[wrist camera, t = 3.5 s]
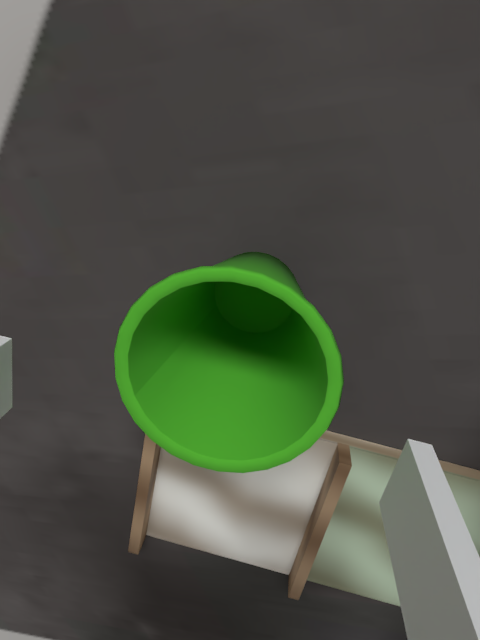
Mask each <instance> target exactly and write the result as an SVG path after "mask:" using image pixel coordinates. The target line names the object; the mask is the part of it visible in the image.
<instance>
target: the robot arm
mask: <svg viewBox="0 0 480 640" xmlns="http://www.w3.org/2000/svg"><path fill="white" fill-rule="evenodd" d="M11 408H12V338H8V337H4V336H0V418H1V417H2V416H3V415H4V414H5V413H7V412H8V411H9V410H10V409H11ZM379 506H380V510H381V515H382V520H383V525H384V529H385V534H386V539H387V544H388V549H389V553H390V558H391V563H392V568H393V572H394V577H395V582H396V587H397V591H398V596H399V601H400V606H401V610H402V615H403V620H404V625H405V629H406V634H407V639H408V640H480V557H479V555H478V552H477V550H476V548H475V545H474V543H473V541H472V538H471V536H470V533H469V531H468V529H467V526H466V524H465V522H464V519H463V517H462V515H461V512H460V510H459V508H458V505H457V503H456V501H455V498H454V496H453V493H452V491H451V489H450V486H449V484H448V482H447V479H446V477H445V475H444V472H443V470H442V468H441V465H440V463H439V461H438V458H437V456H436V453H435V451H434V449H433V446H432V445H430V444H427V443H423V442H419V441H415V440H411V439H407V441H406V444H405V446H404V448H403V450H402V453H401V455H400V457H399V459H398V461H397V464H396V466H395V468H394V470H393V473H392V475H391V477H390V479H389V481H388V484H387V486H386V488H385V490H384V492H383V495H382V497H381V499H380V501H379Z"/></svg>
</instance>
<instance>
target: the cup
mask: <svg viewBox="0 0 480 640" xmlns="http://www.w3.org/2000/svg"><path fill="white" fill-rule="evenodd" d="M114 356H115V376H116V381H117V384H118V388H119V391H120V394H121V397H122V401H123V403H124V404H125V406H126V408H127V409H128V411H129V413H130V415H131V416H132V418H133V420H134V421H135V423H136V424H137V425H138V426H139V427H140V428H141V429H142V430H143V431H144V433H145V434H146V435H147V436H148V437H149V438H150V439H151V440H152V441H153V442H155V443H156V444H157V445H159V446H160V447H162V448H163V449H164V450H166V451H167V452H168V453H170V454H171V455H173V456H175V457H177V458H179V459H182V460H184V461H186V462H188V463H190V464H192V465H194V466H198V467H202V468H206V469H210V470H214V471H218V472H233V473H247V472H255V471H262V470H268V469H271V468H273V467H276V466H279V465H282V464H284V463H287V462H290V461H291V460H293V459H294V458H296V457H297V456H299V455H300V454H302V453H303V452H305V451H306V450H308V449H310V448H311V447H312V446H313V444H314V443H315V442H316V441H317V440H318V439H319V438H320V437H321V436H322V434H323V433H324V432H325V431H326V430H327V429H328V428H329V426H330V424H331V422H332V420H333V418H334V416H335V414H336V412H337V410H338V408H339V405H340V400H341V394H342V389H343V383H344V378H343V368H342V358H341V354H340V351H339V349H338V346H337V343H336V341H335V338H334V336H333V333H332V331H331V329H330V327H329V326H328V325H327V323H326V322H325V321H324V319H323V318H322V317H321V315H320V314H319V312H318V311H317V310H316V308H315V307H314V306H313V305H312V304H311V303H310V302H308V301H307V300H306V299H305V297H304V295H303V293H302V291H301V289H300V287H299V285H298V283H297V281H296V279H295V277H294V275H293V274H292V272H291V271H290V269H289V268H288V267H287V266H286V265H285V264H284V263H283V262H281V261H280V260H279V259H277V258H275V257H273V256H271V255H269V254H265V253H260V252H247V253H243V254H239V255H236V256H234V257H232V258H230V259H227V260H225V261H223V262H221V263H219V264H216V265H214V266H201V267H197V268H193V269H190V270H186V271H182V272H178V273H175V274H172V275H171V276H169V277H167V278H165V279H164V280H162V281H160V282H158V283H156V284H155V285H153V286H151V287H150V288H149V289H148V290H147V291H146V292H145V293H144V294H143V295H142V296H141V297H140V298H139V299H138V300H137V301H136V302H135V303H134V304H133V305H132V306H131V308H130V309H129V311H128V313H127V315H126V317H125V319H124V320H123V322H122V324H121V326H120V328H119V332H118V337H117V341H116V346H115V350H114Z"/></svg>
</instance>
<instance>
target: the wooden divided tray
mask: <svg viewBox="0 0 480 640" xmlns="http://www.w3.org/2000/svg"><path fill="white" fill-rule="evenodd" d="M401 453H402V450H399V449H395V448H391V447H387V446H384V445H380V444H376V443H372V442H368V441H365V440H361V439H357V438H353V437H349V436H345V435H342V434H338V433H334V432H330V431H325V432H324V433H323V434H322V436H321V437H320V438H319V439H318V440H317V441H316V442H315V443H314V444H313V446H312V447H311V448H310V449H308V450H306V451H305V452H303V453H302V454H300V455H299V456H297V457H296V458H294V459H293V460H291V461H290V462H287V463H284V464H282V465H279V466H276V467H273V468H271V469H268V470H262V471H255V472H247V473H233V472H218V471H214V470H210V469H206V468H202V467H198V466H194V465H192V464H190V463H188V462H186V461H184V460H182V459H179V458H177V457H175V456H173V455H171V454H170V453H168V452H167V451H166V450H164V449H163V448H162V447H160V446H159V445H157V444H156V443H155V442H153V441H152V440H151V439H150V438H149V437H148V436H147V435H146V434H145V439H144V446H143V453H142V459H141V466H140V473H139V480H138V487H137V494H136V500H135V507H134V514H133V521H132V528H131V535H130V541H129V548H128V552H131V553H134V554H139V551H140V549H141V546H142V544H143V542H144V539H145V537H146V535H148V536H152V537H155V538H159V539H163V540H166V541H170V542H173V543H177V544H180V545H184V546H187V547H191V548H194V549H198V550H202V551H205V552H209V553H212V554H216V555H219V556H223V557H226V558H230V559H234V560H237V561H241V562H244V563H248V564H251V565H255V566H258V567H262V568H266V569H269V570H273V571H276V572H280V573H283V574H287V575H289V585H288V597H289V598H292V599H296V600H299V598H300V595H301V593H302V590H303V588H304V585H305V583H306V580H308V581H312V582H315V583H319V584H322V585H326V586H329V587H333V588H337V589H340V590H344V591H347V592H351V593H354V594H358V595H361V596H365V597H368V598H372V599H376V600H379V601H383V602H386V603H390V604H393V605H397V606H400V601H399V596H398V591H397V587H396V582H395V577H394V572H393V568H392V563H391V558H390V553H389V549H388V544H387V539H386V534H385V529H384V525H383V520H382V515H381V510H380V506H379V501H380V499H381V497H382V495H383V492H384V490H385V488H386V486H387V484H388V481H389V479H390V477H391V475H392V473H393V470H394V468H395V466H396V464H397V461H398V459H399V457H400V455H401ZM438 461H439V463H440V465H441V468H442V470H443V472H444V475H445V477H446V479H447V482H448V484H449V486H450V489H451V491H452V493H453V496H454V498H455V501H456V503H457V505H458V508H459V510H460V512H461V515H462V517H463V519H464V522H465V524H466V526H467V529H468V531H469V533H470V536H471V538H472V541H473V543H474V545H475V548H476V550H477V552H478V555H479V557H480V471H479V470H475V469H472V468H468V467H464V466H460V465H456V464H452V463H449V462H445V461H441V460H438ZM400 607H401V606H400Z"/></svg>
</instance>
